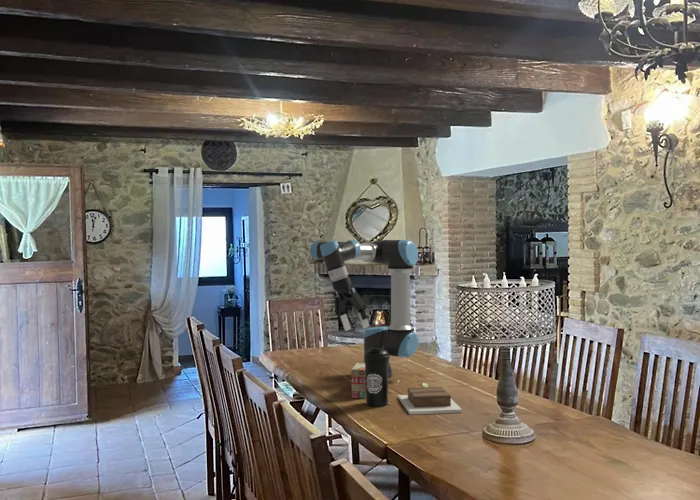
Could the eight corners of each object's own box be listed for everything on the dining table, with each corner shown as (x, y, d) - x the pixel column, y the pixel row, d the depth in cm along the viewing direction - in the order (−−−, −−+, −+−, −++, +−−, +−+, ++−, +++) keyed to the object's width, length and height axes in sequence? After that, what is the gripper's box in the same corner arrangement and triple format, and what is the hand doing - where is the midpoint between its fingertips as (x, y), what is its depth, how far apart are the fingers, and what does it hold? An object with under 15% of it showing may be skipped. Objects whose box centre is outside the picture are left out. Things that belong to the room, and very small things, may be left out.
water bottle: (360, 406, 249) (360, 348, 248) (369, 399, 259) (368, 343, 258) (385, 408, 246) (385, 349, 245) (392, 402, 255) (392, 345, 255)
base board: (398, 398, 261) (398, 395, 261) (445, 396, 263) (445, 393, 263) (409, 414, 237) (409, 411, 237) (461, 412, 239) (461, 409, 239)
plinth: (407, 398, 256) (407, 388, 256) (441, 396, 258) (441, 387, 258) (414, 407, 242) (414, 397, 242) (450, 406, 244) (450, 395, 244)
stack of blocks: (360, 385, 283) (360, 358, 283) (374, 386, 282) (374, 358, 281) (351, 398, 262) (350, 368, 262) (366, 399, 261) (365, 369, 260)
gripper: (317, 285, 263) (333, 334, 263) (349, 277, 242) (366, 329, 242) (331, 280, 267) (348, 328, 267) (364, 271, 246) (381, 323, 246)
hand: (357, 328), depth 255 cm, fingers open, 13 cm apart
